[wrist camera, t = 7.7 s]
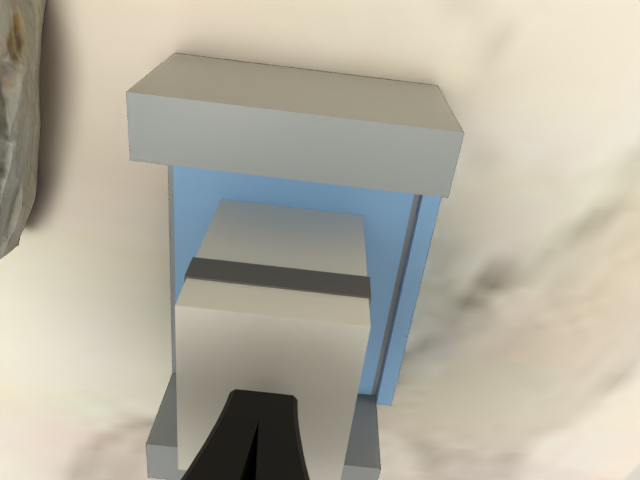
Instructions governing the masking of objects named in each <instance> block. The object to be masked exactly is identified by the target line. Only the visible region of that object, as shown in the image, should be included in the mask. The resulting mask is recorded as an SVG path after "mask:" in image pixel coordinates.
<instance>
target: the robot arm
mask: <svg viewBox="0 0 640 480" xmlns="http://www.w3.org/2000/svg"><path fill="white" fill-rule="evenodd" d="M181 480H310V478H309V474H308V471H307V467H306V462H305V458H304V453H303V448H302V442H301V436H300V430H299V421H298V400H297V399H296V398H295V397H294V396H293V395H286V394H277V393H268V392H259V391H249V390H240V389H235V390H233V391H231V392H230V393H229V396H228V399H227V401H226V403H225V405H224V408H223V410H222V412H221V414H220V416H219V418H218V420H217V421H216V423H215V425H214V427H213V429H212V430H211V432H210V434H209V436H208V437H207V439H206V441H205V443H204V444H203V446H202V447H201V449H200V451H199V452H198V454H197V455H196V457H195V458H194V460H193V462H192V463H191V465H190V466H189V468H188V470H187V471H186V473H185V474H184V475H183V477H182V478H181Z"/></svg>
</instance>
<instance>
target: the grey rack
mask: <svg viewBox="0 0 640 480" xmlns="http://www.w3.org/2000/svg"><path fill="white" fill-rule="evenodd" d="M126 99H127V117H128V134H129V152H130V160H131V161H139V162H148V163H156V164H165V165H168V190H169V237H170V284H171V331H172V376H171V379H170V381H169V384H168V387H167V389H166V392H165V395H164V397H163V400H162V403H161V405H160V408H159V411H158V413H157V416H156V419H155V422H154V424H153V427H152V430H151V432H150V435H149V438H148V440H147V443H146V453H147V470H148V478H157V479H166V480H181V478H182V477H183V475H184V474H185V473H186V471H187V470H179V469H178V442H177V391H176V339H175V304H176V302H177V299H178V297H179V295H180V292H181V290H182V288H183V285H184V276H185V273H186V271H187V269H188V267H189V264H190V262H191V260H192V257H196V255H197V253H198V251H199V248H200V246H201V244H202V241H203V239H204V237H205V234H206V232H207V230H208V228H209V225H210V223H211V221H212V218H213V216H214V214H215V211H216V209H217V207H218V204H219V202H220V200H221V199H224V200H233V201H242V202H250V203H259V204H268V205H277V206H285V207H294V208H303V209H311V210H320V211H329V212H337V213H346V214H355V215H363V222H364V236H365V251H366V266H367V277H370V285H371V301H370V307H369V309H370V324H371V328H370V333H369V338H368V343H367V349H366V354H365V359H364V364H363V369H362V374H361V379H360V384H359V389H358V394H357V400H356V405H355V410H354V415H353V420H352V425H351V430H350V435H349V440H348V445H347V451H346V456H345V461H344V466H343V471H342V476H341V480H378V478H379V474H380V470H381V464H380V450H379V436H378V421H377V407H376V404H380V405H389V406H391V404H392V399H393V395H394V391H395V387H396V383H397V379H398V375H399V370H400V366H401V362H402V358H403V354H404V350H405V346H406V341H407V337H408V333H409V329H410V325H411V321H412V317H413V312H414V308H415V304H416V300H417V296H418V292H419V288H420V283H421V279H422V275H423V271H424V267H425V263H426V259H427V255H428V250H429V246H430V242H431V238H432V234H433V230H434V226H435V221H436V217H437V213H438V209H439V205H440V201H441V197H445V198H448V196H449V192H450V188H451V184H452V180H453V176H454V172H455V168H456V164H457V160H458V156H459V152H460V148H461V144H462V140H463V136H464V131H463V130H462V128H461V126H460V124H459V123H458V121H457V119H456V117H455V116H454V114H453V112H452V110H451V108H450V107H449V105H448V103H447V101H446V100H445V98H444V96H443V94H442V92H441V91H440V89H439V87H438V86H437V85H428V84H420V83H412V82H404V81H396V80H388V79H380V78H371V77H363V76H355V75H347V74H339V73H331V72H323V71H315V70H306V69H298V68H290V67H282V66H274V65H266V64H258V63H249V62H241V61H233V60H225V59H217V58H209V57H201V56H192V55H184V54H176V53H174V54H172V55H171V56H170V57H169V58H167V59H166V60H165V61H164V62H163V63H161V64H160V65H159V66H158V67H156V68H155V69H154V70H153V71H151V72H150V73H149V74H148V75H146V76H145V77H144V78H143V79H142V80H140V81H139V82H138V83H137V84H135V85H134V86H133V87H132V88H130V89H129V90H128V91H127V92H126Z"/></svg>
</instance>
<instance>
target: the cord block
mask: <svg viewBox="0 0 640 480" xmlns="http://www.w3.org/2000/svg"><path fill="white" fill-rule="evenodd" d="M370 301H371V285H370V277H367V266H366V251H365V236H364V222H363V215H355V214H346V213H337V212H329V211H320V210H311V209H303V208H294V207H285V206H277V205H268V204H259V203H250V202H242V201H233V200H224V199H221V200H220V202H219V204H218V207H217V209H216V211H215V214H214V216H213V218H212V221H211V223H210V225H209V228H208V230H207V232H206V234H205V237H204V239H203V241H202V244H201V246H200V248H199V251H198V253H197V255H196V257H192V260H191V262H190V264H189V267H188V269H187V271H186V273H185V276H184V285H183V288H182V290H181V292H180V295H179V297H178V299H177V302H176V304H175V339H176V391H177V442H178V469H179V470H188V468H189V466H190V465H191V463H192V462H193V460H194V458H195V457H196V455H197V454H198V452H199V451H200V449H201V447H202V446H203V444H204V443H205V441H206V439H207V437H208V436H209V434H210V432H211V430H212V429H213V427H214V425H215V423H216V421H217V420H218V418H219V416H220V414H221V412H222V410H223V408H224V405H225V403H226V401H227V399H228V396H229V393H230V392H231V391H233V390H235V389H240V390H249V391H259V392H268V393H277V394H286V395H293V396H294V397H295V398H296V399H297V400H298V421H299V430H300V436H301V442H302V448H303V453H304V458H305V462H306V467H307V471H308V474H309V478H310V480H341V476H342V471H343V466H344V461H345V456H346V451H347V445H348V440H349V435H350V430H351V425H352V420H353V415H354V410H355V405H356V400H357V394H358V389H359V384H360V379H361V374H362V369H363V364H364V359H365V354H366V349H367V343H368V338H369V333H370V328H371V324H370V309H369V307H370Z"/></svg>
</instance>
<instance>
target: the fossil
mask: <svg viewBox="0 0 640 480" xmlns="http://www.w3.org/2000/svg"><path fill="white" fill-rule="evenodd" d="M45 6H46V0H0V259H1V258H3V257H4V256H5V255H7V254H8V253H9V252H10V251H12V250H13V249H14V248H15V247H16V246H18V245H19V240H20V236H21V234H22V232H23V230H24V227H25V225H26V222H27V220H28V217H29V215H30V212H31V209H32V206H33V203H34V200H35V196H36V191H37V171H38V164H39V142H40V132H41V123H40V119H41V116H40V103H39V96H40V92H39V70H40V62H41V51H42V29H43V20H44V13H45Z"/></svg>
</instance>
